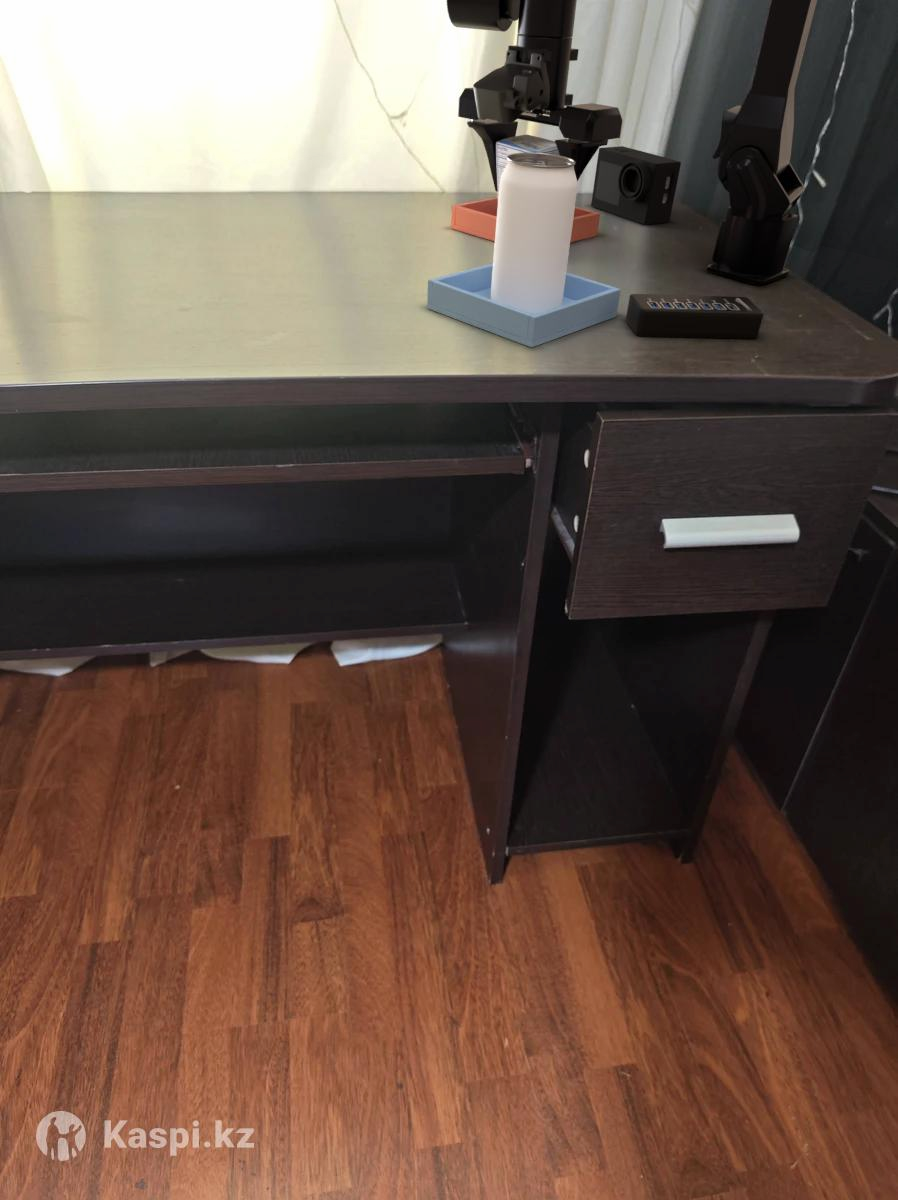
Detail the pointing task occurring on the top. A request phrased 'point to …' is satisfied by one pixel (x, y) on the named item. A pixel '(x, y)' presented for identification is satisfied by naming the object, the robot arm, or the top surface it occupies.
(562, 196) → the can
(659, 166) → the digital camera
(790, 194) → the robot arm
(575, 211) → the coral tray
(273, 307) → the top surface
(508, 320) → the blue tray
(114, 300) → the top surface
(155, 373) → the top surface
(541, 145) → the medicine box
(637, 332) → the multiport hub
